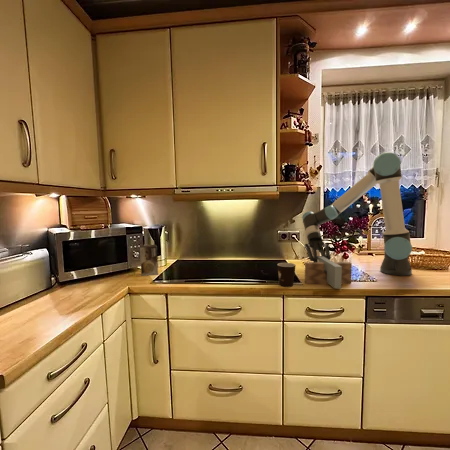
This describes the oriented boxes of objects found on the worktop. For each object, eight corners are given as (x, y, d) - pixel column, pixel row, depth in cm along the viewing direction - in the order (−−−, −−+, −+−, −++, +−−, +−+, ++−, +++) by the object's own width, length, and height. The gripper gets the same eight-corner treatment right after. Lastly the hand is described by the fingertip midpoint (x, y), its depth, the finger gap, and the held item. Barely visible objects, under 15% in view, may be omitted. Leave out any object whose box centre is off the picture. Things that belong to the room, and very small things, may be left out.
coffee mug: (295, 288, 135) (295, 267, 134) (276, 287, 137) (277, 266, 136) (294, 281, 146) (295, 261, 145) (277, 280, 148) (277, 261, 147)
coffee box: (157, 271, 168) (156, 244, 166) (158, 274, 161) (157, 246, 160) (140, 273, 165) (139, 245, 163) (141, 276, 159) (140, 247, 157)
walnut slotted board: (348, 281, 145) (348, 261, 144) (351, 283, 142) (351, 263, 141) (304, 282, 144) (305, 262, 143) (306, 283, 141) (307, 263, 140)
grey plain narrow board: (316, 274, 155) (316, 255, 154) (321, 274, 155) (322, 255, 154) (334, 288, 131) (335, 266, 130) (341, 288, 131) (341, 266, 130)
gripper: (325, 239, 166) (337, 275, 151) (298, 239, 165) (306, 275, 150) (329, 231, 160) (341, 267, 145) (301, 231, 160) (310, 268, 145)
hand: (324, 271), depth 148 cm, fingers closed on grey plain narrow board, 3 cm apart
